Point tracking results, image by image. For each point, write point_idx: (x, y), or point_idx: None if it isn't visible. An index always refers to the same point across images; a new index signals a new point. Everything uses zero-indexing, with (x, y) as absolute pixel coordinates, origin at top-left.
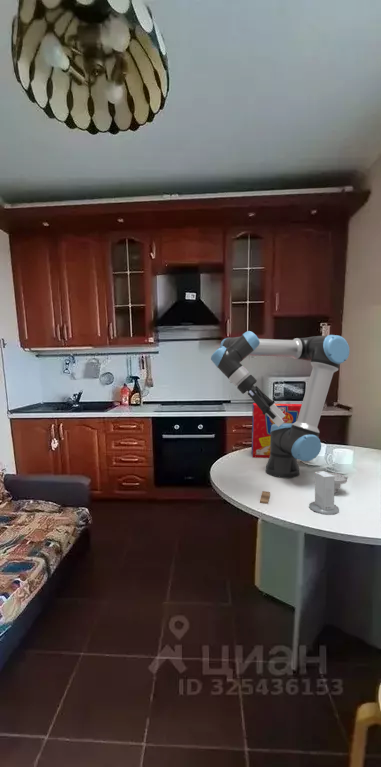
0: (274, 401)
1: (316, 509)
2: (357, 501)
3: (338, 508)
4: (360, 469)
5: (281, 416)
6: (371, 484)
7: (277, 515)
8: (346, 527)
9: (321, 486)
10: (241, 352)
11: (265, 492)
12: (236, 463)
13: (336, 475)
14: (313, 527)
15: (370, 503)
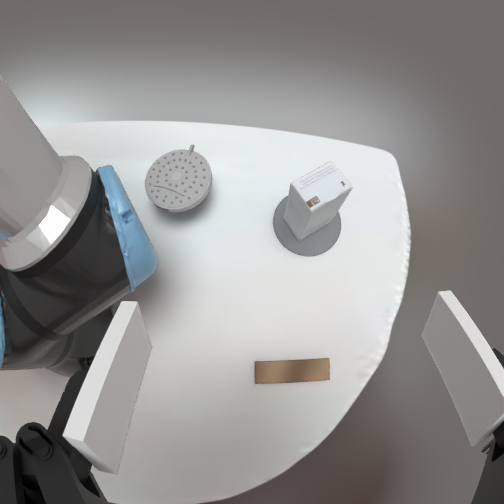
0: (23, 426)
1: (330, 238)
2: (235, 152)
3: None
4: None
5: (139, 337)
6: (123, 125)
7: (384, 325)
8: (381, 188)
9: (335, 207)
10: None
11: (263, 374)
12: None
13: (174, 171)
14: (408, 248)
15: (239, 131)
